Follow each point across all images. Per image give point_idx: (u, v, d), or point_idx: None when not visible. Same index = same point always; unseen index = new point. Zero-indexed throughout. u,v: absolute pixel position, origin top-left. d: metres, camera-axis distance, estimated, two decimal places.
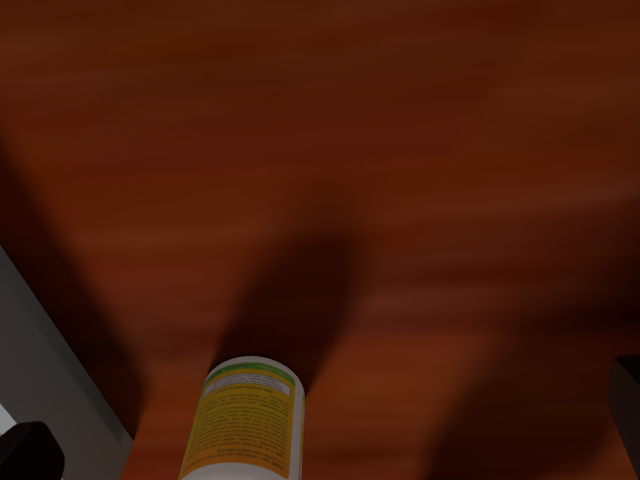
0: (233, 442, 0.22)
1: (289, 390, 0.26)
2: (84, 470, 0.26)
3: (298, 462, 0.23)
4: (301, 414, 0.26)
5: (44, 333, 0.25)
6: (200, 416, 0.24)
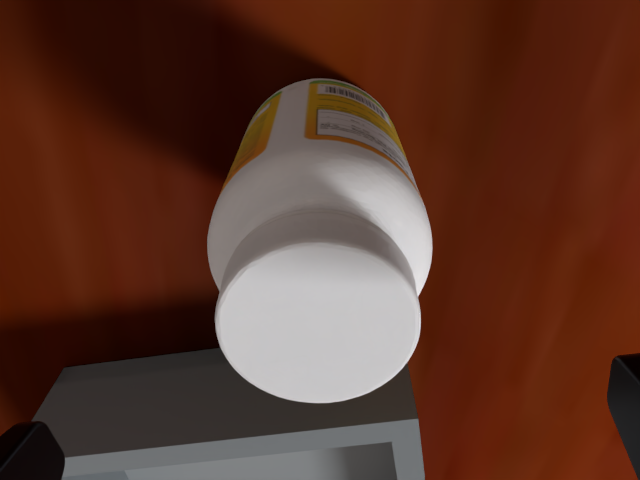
0: None
1: (269, 103, 0.16)
2: None
3: (301, 121, 0.13)
4: (306, 93, 0.15)
5: (189, 364, 0.22)
6: None
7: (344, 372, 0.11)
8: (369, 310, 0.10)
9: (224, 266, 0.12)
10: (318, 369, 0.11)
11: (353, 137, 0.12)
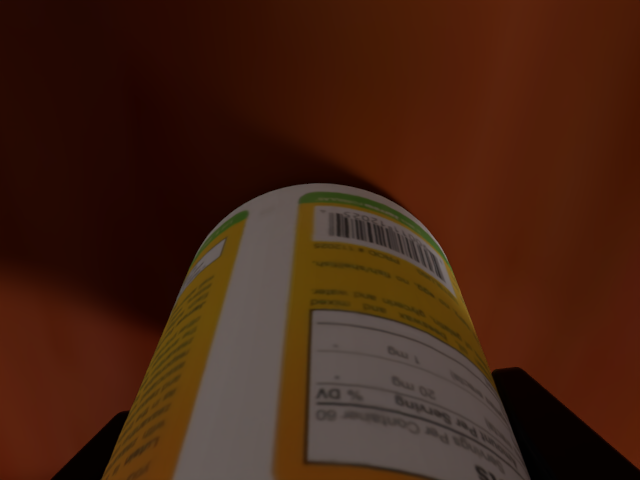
0: None
1: (223, 243, 0.08)
2: None
3: (271, 367, 0.05)
4: (292, 235, 0.08)
5: None
6: None
7: None
8: None
9: None
10: None
11: (404, 459, 0.05)
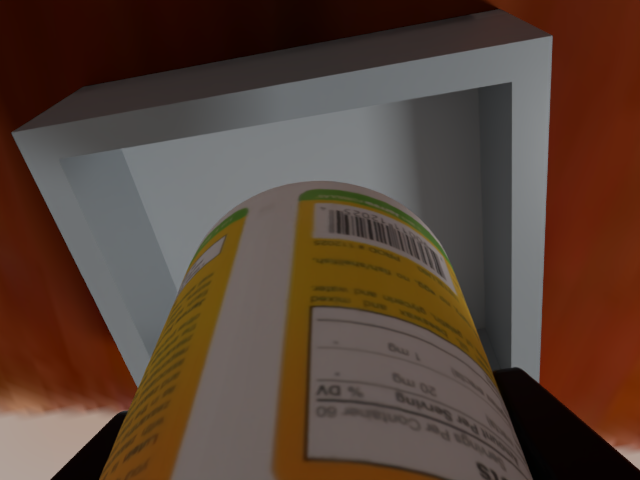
0: None
1: (222, 241, 0.08)
2: (437, 45, 0.15)
3: (271, 364, 0.05)
4: (292, 232, 0.08)
5: (237, 62, 0.18)
6: None
7: None
8: None
9: None
10: None
11: (404, 455, 0.04)
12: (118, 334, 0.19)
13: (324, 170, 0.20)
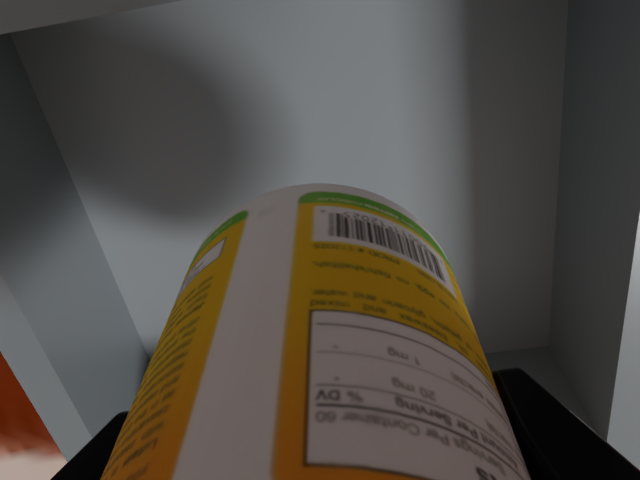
0: None
1: (222, 243, 0.08)
2: None
3: (270, 369, 0.05)
4: (291, 235, 0.08)
5: None
6: None
7: None
8: None
9: None
10: None
11: (403, 461, 0.04)
12: (14, 357, 0.12)
13: (332, 112, 0.13)
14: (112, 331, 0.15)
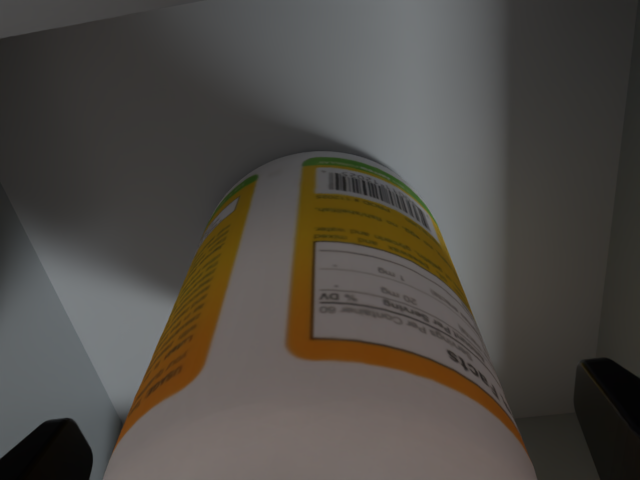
0: None
1: (236, 201, 0.10)
2: None
3: (282, 281, 0.07)
4: (297, 189, 0.09)
5: None
6: None
7: None
8: None
9: None
10: None
11: (388, 339, 0.06)
12: None
13: (337, 146, 0.11)
14: (73, 401, 0.13)
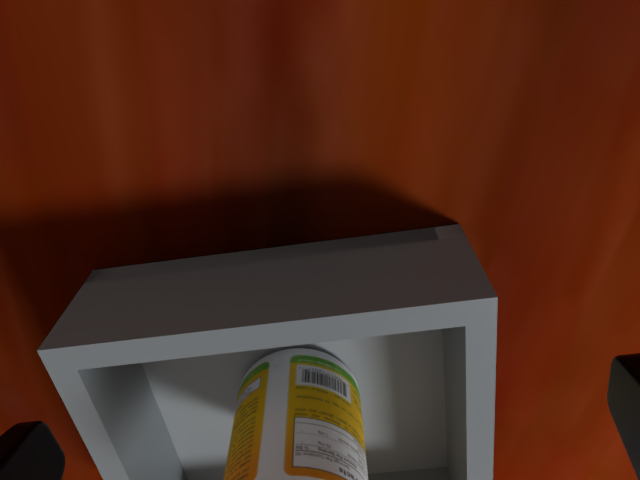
0: None
1: (259, 379, 0.21)
2: (405, 286, 0.18)
3: (282, 438, 0.18)
4: (287, 381, 0.21)
5: (233, 263, 0.21)
6: None
7: None
8: None
9: None
10: None
11: (318, 465, 0.17)
12: None
13: (307, 344, 0.22)
14: (166, 463, 0.24)
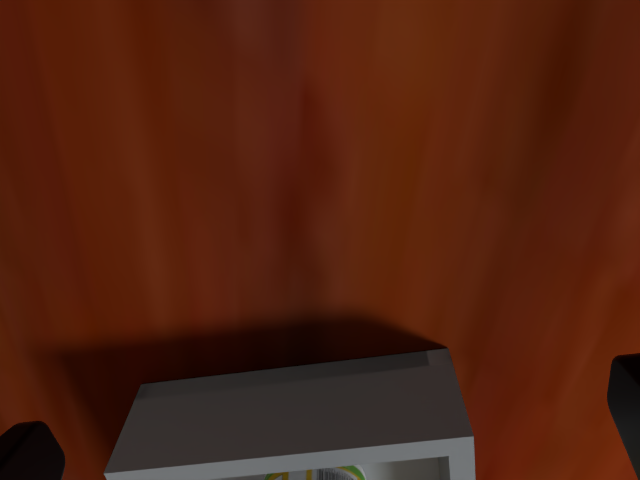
0: None
1: (281, 477, 0.25)
2: (399, 419, 0.22)
3: None
4: None
5: (258, 383, 0.25)
6: None
7: None
8: None
9: None
10: None
11: None
12: None
13: None
14: None
